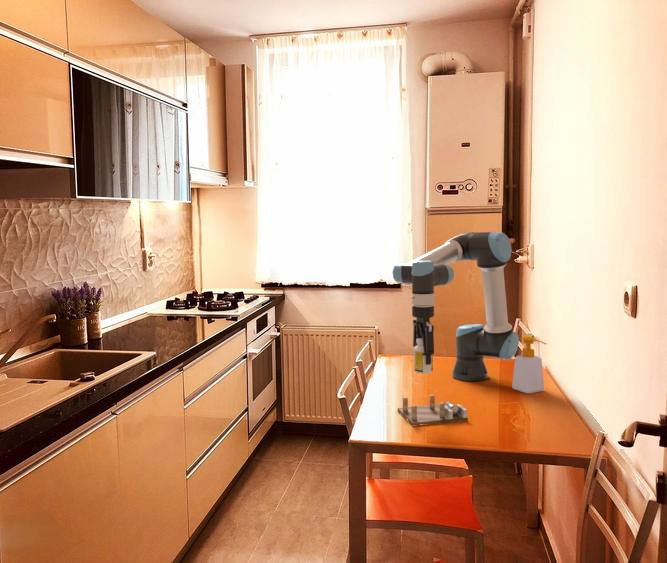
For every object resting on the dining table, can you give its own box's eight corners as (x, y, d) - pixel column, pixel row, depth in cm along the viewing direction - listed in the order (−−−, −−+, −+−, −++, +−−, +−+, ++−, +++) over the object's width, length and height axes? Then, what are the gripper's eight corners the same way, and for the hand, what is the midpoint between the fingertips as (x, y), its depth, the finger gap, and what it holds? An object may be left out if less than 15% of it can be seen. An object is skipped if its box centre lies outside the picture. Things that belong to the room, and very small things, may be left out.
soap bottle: (536, 398, 221) (537, 341, 218) (510, 389, 233) (510, 335, 231) (554, 394, 225) (555, 338, 223) (527, 385, 237) (528, 332, 235)
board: (397, 411, 209) (397, 394, 209) (448, 406, 213) (448, 390, 213) (412, 426, 194) (412, 408, 193) (467, 420, 198) (467, 403, 197)
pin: (444, 410, 205) (444, 401, 205) (451, 409, 206) (451, 401, 205) (452, 416, 198) (452, 408, 198) (460, 415, 199) (460, 407, 199)
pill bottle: (432, 374, 196) (432, 341, 195) (413, 374, 198) (413, 341, 196) (433, 369, 203) (432, 337, 201) (414, 369, 204) (414, 337, 203)
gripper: (403, 302, 206) (404, 364, 209) (422, 310, 187) (423, 378, 190) (423, 301, 208) (423, 363, 210) (444, 308, 189) (444, 377, 191)
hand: (423, 370), depth 200 cm, fingers closed on pill bottle, 6 cm apart
